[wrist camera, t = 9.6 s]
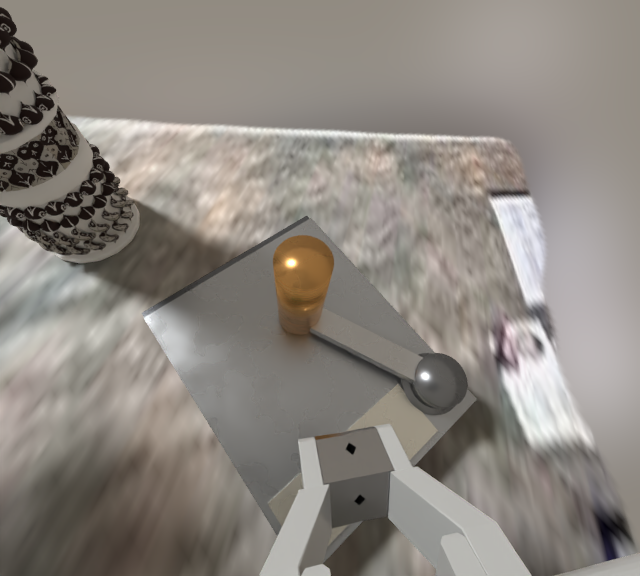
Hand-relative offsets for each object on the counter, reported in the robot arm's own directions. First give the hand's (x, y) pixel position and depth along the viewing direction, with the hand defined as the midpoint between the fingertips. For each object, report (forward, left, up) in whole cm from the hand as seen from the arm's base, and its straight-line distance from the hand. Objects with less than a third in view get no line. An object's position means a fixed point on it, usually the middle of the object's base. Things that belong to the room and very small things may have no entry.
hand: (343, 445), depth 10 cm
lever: (-2, +7, -11) cm, 13 cm away
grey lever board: (-4, +3, -15) cm, 16 cm away
